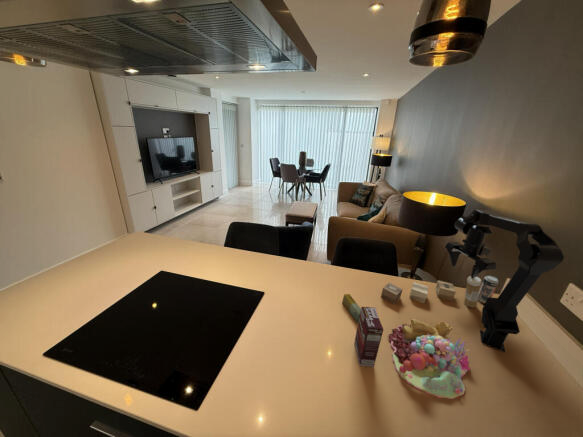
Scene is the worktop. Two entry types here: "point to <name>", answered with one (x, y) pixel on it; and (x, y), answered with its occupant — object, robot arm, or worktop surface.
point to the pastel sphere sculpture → (429, 358)
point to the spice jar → (487, 288)
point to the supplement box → (368, 336)
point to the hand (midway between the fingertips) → (462, 271)
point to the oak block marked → (445, 290)
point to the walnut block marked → (391, 293)
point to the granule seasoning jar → (472, 291)
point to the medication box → (352, 306)
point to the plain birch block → (419, 292)
